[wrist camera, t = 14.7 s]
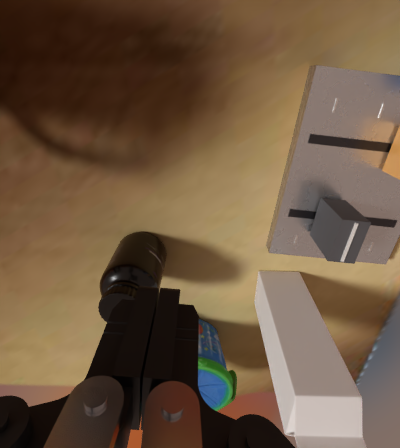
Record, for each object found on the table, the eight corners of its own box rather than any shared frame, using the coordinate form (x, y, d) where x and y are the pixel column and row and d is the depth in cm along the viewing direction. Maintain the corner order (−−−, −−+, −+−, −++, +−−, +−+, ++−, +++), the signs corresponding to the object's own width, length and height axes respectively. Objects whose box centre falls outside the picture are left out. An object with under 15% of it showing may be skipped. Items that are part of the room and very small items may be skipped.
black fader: (321, 197, 35) (343, 220, 30) (345, 200, 35) (372, 223, 30) (309, 234, 37) (328, 261, 32) (332, 236, 37) (355, 264, 32)
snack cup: (249, 344, 50) (260, 404, 40) (202, 372, 53) (203, 433, 44) (186, 288, 44) (182, 343, 35) (138, 323, 48) (123, 381, 38)
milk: (292, 302, 46) (362, 476, 26) (253, 301, 45) (293, 475, 26) (299, 270, 43) (383, 437, 23) (257, 269, 43) (306, 436, 23)
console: (309, 65, 31) (316, 65, 29) (455, 84, 32) (471, 84, 30) (266, 245, 41) (269, 253, 39) (378, 256, 42) (386, 264, 40)
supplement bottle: (174, 241, 41) (164, 299, 30) (156, 277, 43) (141, 343, 33) (126, 222, 39) (98, 276, 29) (111, 261, 42) (81, 324, 32)
